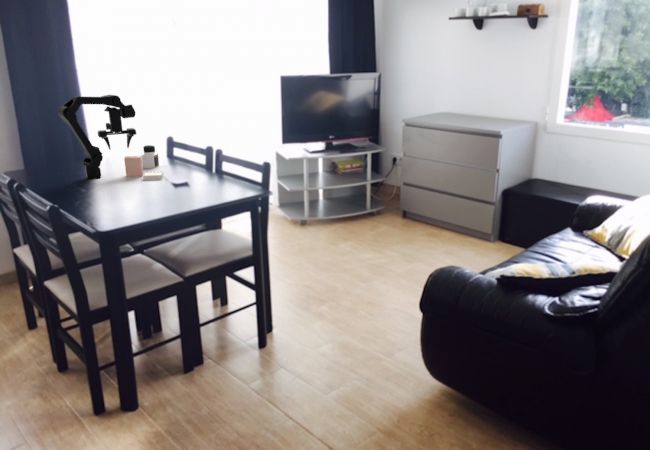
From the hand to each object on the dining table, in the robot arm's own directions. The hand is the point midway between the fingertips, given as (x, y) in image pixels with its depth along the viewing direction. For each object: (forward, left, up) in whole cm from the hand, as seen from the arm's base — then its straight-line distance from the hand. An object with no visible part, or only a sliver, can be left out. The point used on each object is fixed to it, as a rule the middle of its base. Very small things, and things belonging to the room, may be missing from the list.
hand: (119, 148), depth 300 cm
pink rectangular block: (+5, -12, -13) cm, 18 cm away
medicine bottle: (+17, +7, -13) cm, 23 cm away
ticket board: (+12, -22, -13) cm, 28 cm away
